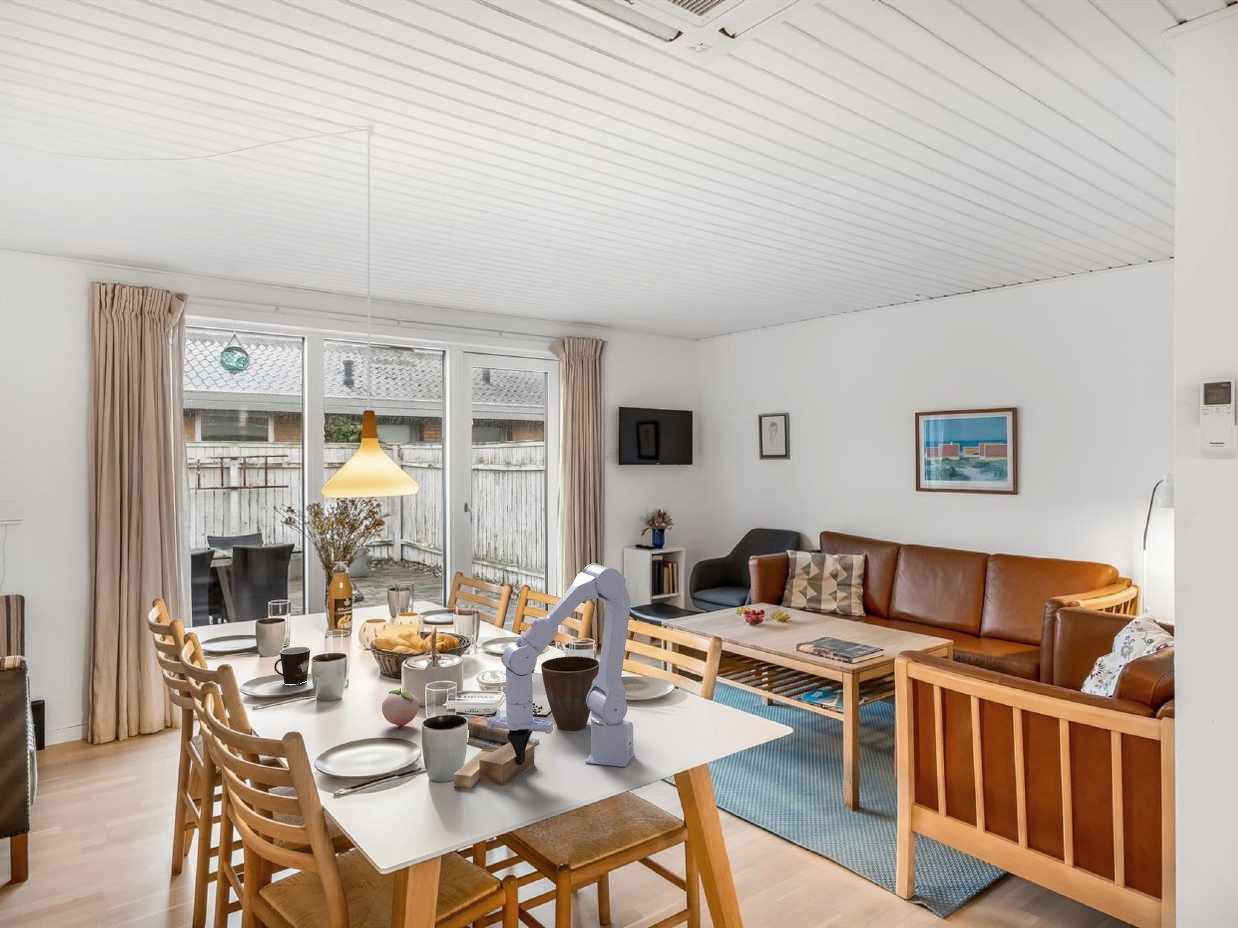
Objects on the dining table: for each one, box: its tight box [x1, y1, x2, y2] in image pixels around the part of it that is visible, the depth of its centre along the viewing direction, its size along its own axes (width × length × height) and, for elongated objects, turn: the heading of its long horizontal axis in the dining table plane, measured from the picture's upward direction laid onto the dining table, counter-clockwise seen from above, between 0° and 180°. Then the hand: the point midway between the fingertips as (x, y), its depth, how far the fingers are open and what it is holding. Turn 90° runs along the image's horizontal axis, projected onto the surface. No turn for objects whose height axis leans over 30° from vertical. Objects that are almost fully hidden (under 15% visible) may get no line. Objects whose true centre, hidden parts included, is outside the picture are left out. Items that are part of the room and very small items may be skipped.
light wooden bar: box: [453, 748, 495, 789], centre depth 168 cm, size 4×14×3 cm, turn 164°
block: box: [479, 742, 535, 787], centre depth 168 cm, size 6×12×4 cm, turn 153°
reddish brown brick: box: [466, 715, 540, 750], centre depth 187 cm, size 18×5×10 cm
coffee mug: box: [273, 646, 311, 684], centre depth 235 cm, size 12×9×10 cm
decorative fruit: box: [381, 687, 420, 728], centre depth 197 cm, size 9×8×10 cm
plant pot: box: [540, 655, 600, 732], centre depth 197 cm, size 15×15×16 cm
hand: (520, 762), depth 166 cm, fingers closed, pressing on block
